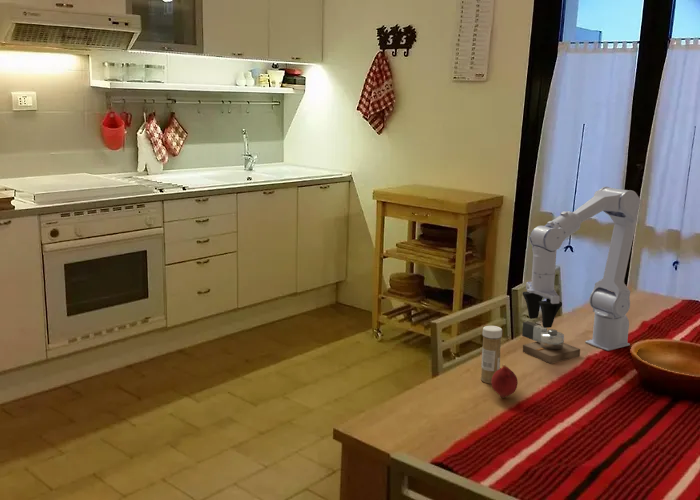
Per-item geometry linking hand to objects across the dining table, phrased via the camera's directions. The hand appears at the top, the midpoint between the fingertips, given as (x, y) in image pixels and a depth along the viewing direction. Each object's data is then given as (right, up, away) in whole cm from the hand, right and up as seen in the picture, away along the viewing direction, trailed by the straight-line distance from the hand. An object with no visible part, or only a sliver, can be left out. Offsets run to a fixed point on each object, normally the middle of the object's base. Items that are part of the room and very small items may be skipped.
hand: (540, 322), depth 182 cm
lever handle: (+2, -6, +7) cm, 10 cm away
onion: (-15, -15, -23) cm, 31 cm away
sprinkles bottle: (-16, -13, -13) cm, 25 cm away
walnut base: (+4, -9, +5) cm, 11 cm away
